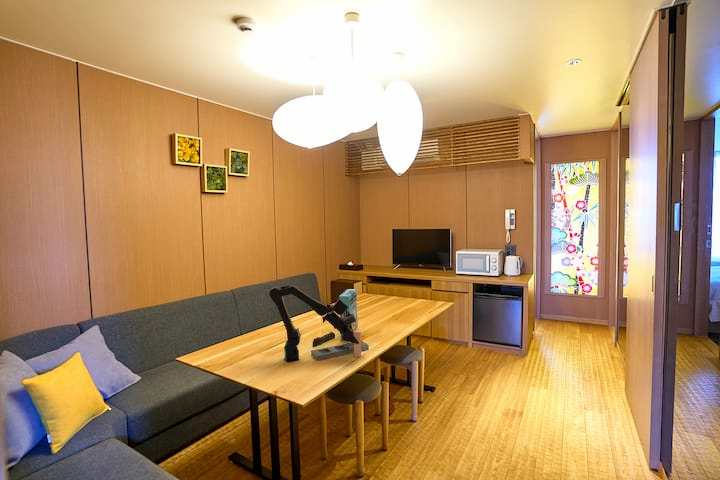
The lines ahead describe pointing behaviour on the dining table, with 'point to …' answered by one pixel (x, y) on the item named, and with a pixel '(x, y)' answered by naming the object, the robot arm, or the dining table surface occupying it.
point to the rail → (336, 350)
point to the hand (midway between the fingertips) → (358, 340)
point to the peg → (357, 346)
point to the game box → (350, 306)
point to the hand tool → (323, 339)
